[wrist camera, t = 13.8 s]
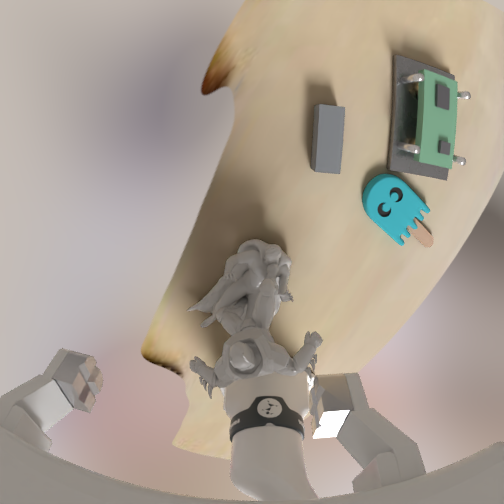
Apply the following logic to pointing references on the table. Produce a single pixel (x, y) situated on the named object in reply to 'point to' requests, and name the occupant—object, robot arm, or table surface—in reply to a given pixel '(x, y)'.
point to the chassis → (411, 119)
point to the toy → (395, 208)
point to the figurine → (252, 318)
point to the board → (436, 119)
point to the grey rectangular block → (327, 138)
